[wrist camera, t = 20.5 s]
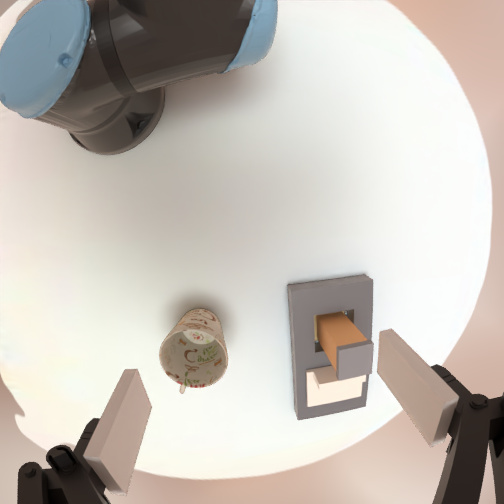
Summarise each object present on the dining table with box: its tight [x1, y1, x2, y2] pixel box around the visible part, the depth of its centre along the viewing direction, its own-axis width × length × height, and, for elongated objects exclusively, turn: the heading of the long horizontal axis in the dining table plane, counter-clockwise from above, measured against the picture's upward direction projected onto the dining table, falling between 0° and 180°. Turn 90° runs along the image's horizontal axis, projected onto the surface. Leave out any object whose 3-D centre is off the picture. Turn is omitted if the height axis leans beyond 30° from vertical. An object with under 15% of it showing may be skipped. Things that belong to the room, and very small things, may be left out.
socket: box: [287, 275, 373, 420], centre depth 46 cm, size 23×12×3 cm, turn 6°
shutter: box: [306, 366, 366, 407], centre depth 43 cm, size 7×9×4 cm
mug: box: [159, 309, 228, 394], centre depth 41 cm, size 8×13×10 cm, turn 164°
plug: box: [316, 311, 374, 381], centre depth 40 cm, size 4×4×12 cm
